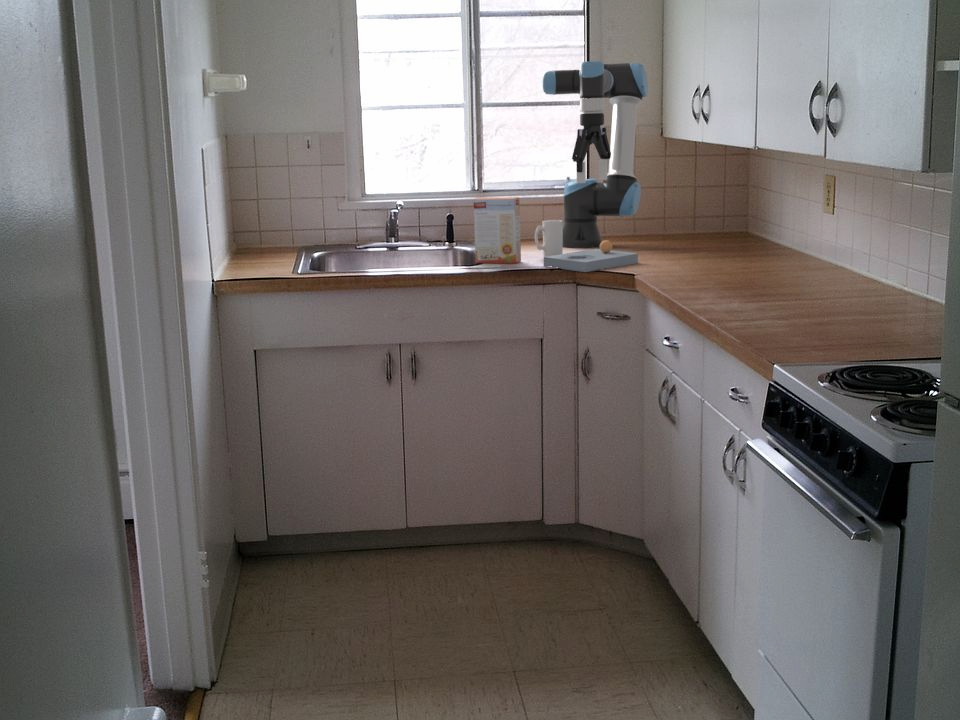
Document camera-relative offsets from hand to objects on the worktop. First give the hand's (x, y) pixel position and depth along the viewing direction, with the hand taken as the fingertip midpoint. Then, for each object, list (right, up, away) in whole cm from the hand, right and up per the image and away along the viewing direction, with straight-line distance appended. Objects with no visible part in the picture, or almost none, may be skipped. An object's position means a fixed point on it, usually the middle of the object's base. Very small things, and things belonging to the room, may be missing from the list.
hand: (592, 181), depth 331 cm
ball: (+5, -21, +1) cm, 21 cm away
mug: (-13, -23, +16) cm, 31 cm away
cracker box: (-30, -25, +8) cm, 40 cm away
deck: (-1, -27, -2) cm, 27 cm away
